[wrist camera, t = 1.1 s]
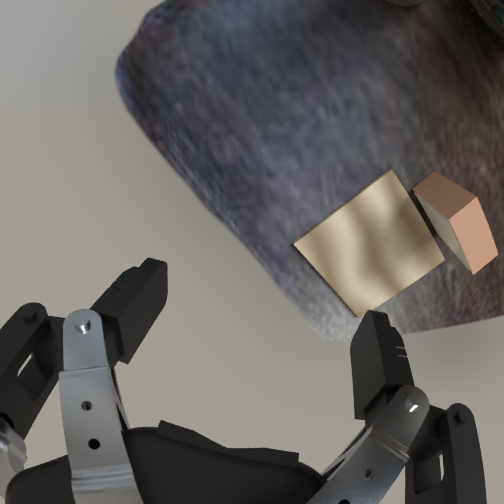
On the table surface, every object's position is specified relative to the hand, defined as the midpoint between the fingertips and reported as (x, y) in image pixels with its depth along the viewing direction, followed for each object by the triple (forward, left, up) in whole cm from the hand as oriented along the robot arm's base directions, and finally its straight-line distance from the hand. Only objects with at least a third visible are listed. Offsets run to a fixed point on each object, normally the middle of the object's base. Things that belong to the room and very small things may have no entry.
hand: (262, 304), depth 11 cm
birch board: (-2, +16, -26) cm, 31 cm away
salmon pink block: (-13, +16, -26) cm, 33 cm away
